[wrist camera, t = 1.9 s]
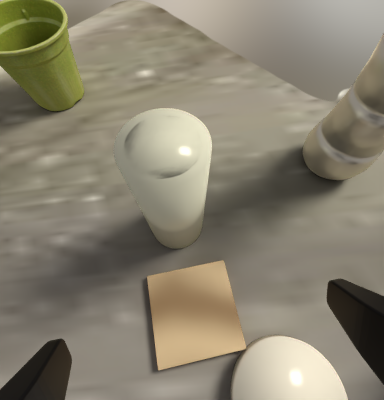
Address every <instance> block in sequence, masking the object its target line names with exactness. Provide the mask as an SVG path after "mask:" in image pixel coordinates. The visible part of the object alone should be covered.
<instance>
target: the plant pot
mask: <svg viewBox="0 0 384 400" xmlns="http://www.w3.org/2000/svg"><path fill="white" fill-rule="evenodd" d="M67 24H68V18H67V15H66V12H65V11H64V9H63V8H62V7H61V6H60V5H59V4H58V3H56V2H54V1H52V0H3V1H0V66H1V67H2V68H3V69H4V70H5V71H6V72H7V73H8V74H9V75H10V76H11V77H12V78H13V79H14V80H15V81H16V82H17V83H18V84H19V85H20V86H21V87H22V88H23V89H24V90H25V91H26V92H27V93H28V94H29V95H30V96H31V97H32V98H33V100H34V101H35V102H36V103H37V104H38V105H39V106H41V107H43V108H45V109H47V110H50V111H61V110H65V109H68V108H71V107H73V106H74V104H75V103H76V102H77V101H78V100H79V99H82V97H83V94H84V87H83V84H82V81H81V78H80V75H79V72H78V69H77V65H76V62H75V59H74V56H73V52H72V49H71V46H70V43H69V39H68V38H69V34H68V30H67Z"/></svg>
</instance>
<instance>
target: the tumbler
mask: <svg viewBox="0 0 384 400" xmlns="http://www.w3.org/2000/svg"><path fill="white" fill-rule="evenodd" d="M211 152H212V141H211V137H210V134H209V132H208V130H207V128H206V127H205V125H204V124H203V123H202V122H201V121H200V120H199V119H198V118H196V117H195V116H193V115H191V114H189V113H187V112H185V111H182V110H178V109H171V108H159V109H153V110H149V111H146V112H143V113H141V114H139V115H137V116H135V117H133V118H132V119H130V120H129V121H128V122H127V123H126V124H125V125H124V126H123V127H122V128H121V130H120V131H119V133H118V134H117V137H116V139H115V143H114V158H115V161H116V164H117V166H118V168H119V170H120V171H121V173H122V175H123V177H124V179H125V181H126V183H127V185H128V187H129V188H130V190H131V192H132V194H133V196H134V198H135V200H136V202H137V204H138V205H139V207H140V209H141V211H142V213H143V215H144V217H145V219H146V220H147V222H148V224H149V226H150V228H151V230H152V232H153V234H154V236H155V237H156V239H157V240H158V241H159V242H160V243H161V244H162V245H164V246H166V247H169V248H173V249H180V248H185V247H187V246H189V245H191V244H192V243H194V242H195V241H196V240H197V238H198V237H199V235H200V233H201V230H202V224H203V216H204V208H205V200H206V192H207V184H208V176H209V168H210V160H211Z"/></svg>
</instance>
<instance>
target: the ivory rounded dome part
mask: <svg viewBox="0 0 384 400" xmlns="http://www.w3.org/2000/svg"><path fill="white" fill-rule="evenodd" d="M230 390H231V400H348V398H347V395H346V392H345V389H344V387H343V384H342V382H341V380H340V378H339V376H338V374H337V373H336V371H335V370H334V368H333V367H332V365H331V364H330V363H329V362H328V360H327V359H326V358H325V357H324V356H323V355H322V354H321V353H320V352H318V351H317V350H316V349H315V348H313V347H312V346H310V345H309V344H307V343H305V342H303V341H300V340H297V339H294V338H291V337H288V336H283V335H268V336H264V337H261V338H259V339H257V340H255V341H254V342H252V343H251V344H250V345H248V346H247V347H246V349H245V350H244V351H243V352H242V353H241V355H240V356H239V358H238V360H237V362H236V364H235V367H234V370H233V374H232V379H231V389H230Z"/></svg>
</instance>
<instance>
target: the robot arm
mask: <svg viewBox="0 0 384 400" xmlns="http://www.w3.org/2000/svg"><path fill="white" fill-rule="evenodd" d="M327 303H328V305H329V307H330V309H331V310H332V312H333V313H334V315H335V317H336V318H337V320H338V321H339V323H340V324H341V326H342V327H343V329H344V331H345V332H346V334H347V335H348V337H349V338H350V340H351V341H352V343H353V344H354V346H355V347H356V349H357V350H358V352H359V353H360V354H361V356H362V357H363V359H364V360H365V361H366V362H367V364H368V365H369V366H370V368H371V369H372V370H373V372H374V373H375V374H376V375H377V377H378V378H379V379H380V381H381V382H382V383H383V385H384V296H382V295H379V294H377V293H375V292H372V291H370V290H367V289H365V288H363V287H360V286H358V285H355V284H353V283H351V282H348V281H346V280H343V279H335V280H331V281H329V282H328V288H327ZM71 364H72V358H71V354H70V352H69V350H68V348H67V345H66V343H65V341H64V340H63V339H56V340H51V341H49V342H47V343H46V344H45V345H44V346H43V347H42V348H41V349H40V350H39V351H38V352H37V353H36V354H35V355H34V356H33V357H32V358H31V359H30V360H29V361H28V362H27V363H26V364H25V365H24V366H23V367H22V368H21V369H20V370H19V371H18V372H17V373H16V374H15V375H14V376H13V377H12V378H11V379H10V380H9V381H8V382H7V383H6V384H5V385H4V386H3V387H2V388H1V389H0V400H65V396H66V390H67V385H68V380H69V375H70V370H71Z"/></svg>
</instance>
